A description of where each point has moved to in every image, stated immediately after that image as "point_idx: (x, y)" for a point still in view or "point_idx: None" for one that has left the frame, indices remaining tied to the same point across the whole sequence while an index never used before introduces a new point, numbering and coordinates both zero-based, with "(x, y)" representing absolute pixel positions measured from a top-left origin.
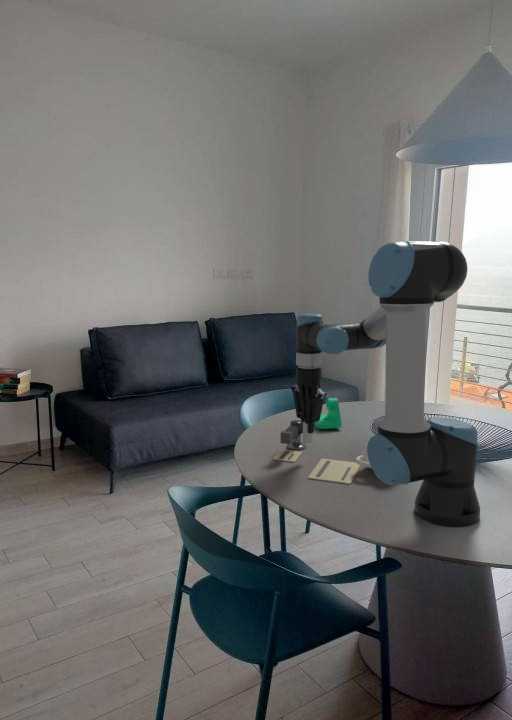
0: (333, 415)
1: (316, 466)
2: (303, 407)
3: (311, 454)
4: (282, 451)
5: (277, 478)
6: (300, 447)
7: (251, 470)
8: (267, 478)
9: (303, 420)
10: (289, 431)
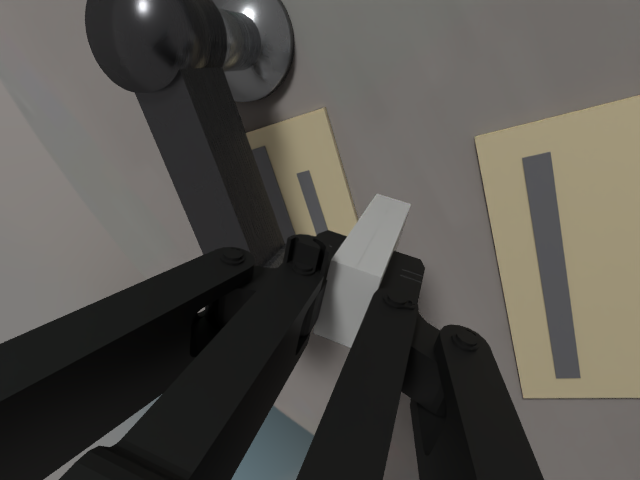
0: None
1: (502, 267)
2: (242, 451)
3: (378, 98)
4: None
5: (405, 426)
6: (276, 62)
7: (282, 393)
8: None
9: (308, 337)
10: None
